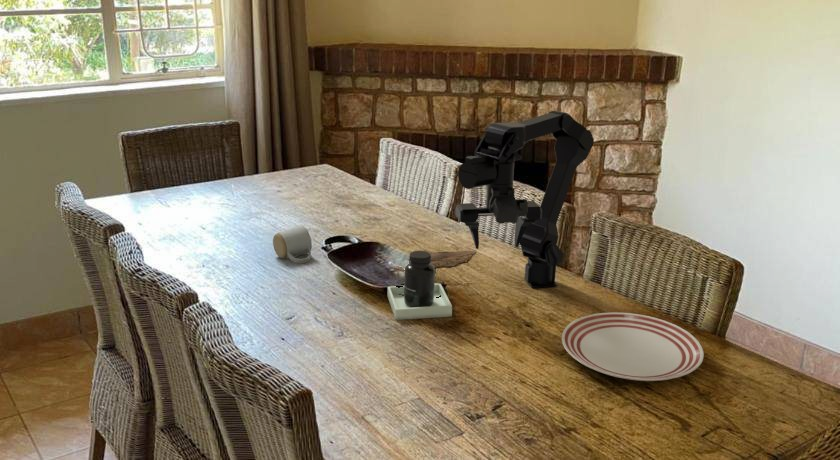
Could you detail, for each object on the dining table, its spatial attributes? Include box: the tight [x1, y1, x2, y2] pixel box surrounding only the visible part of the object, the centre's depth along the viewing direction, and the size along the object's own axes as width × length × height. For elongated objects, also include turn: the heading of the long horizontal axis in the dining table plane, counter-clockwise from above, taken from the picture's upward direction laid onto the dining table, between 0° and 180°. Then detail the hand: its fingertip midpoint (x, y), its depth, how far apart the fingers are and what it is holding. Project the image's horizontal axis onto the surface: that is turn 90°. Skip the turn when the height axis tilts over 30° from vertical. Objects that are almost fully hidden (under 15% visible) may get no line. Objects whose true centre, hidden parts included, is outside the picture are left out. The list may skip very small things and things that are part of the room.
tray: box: [387, 283, 453, 321], centre depth 175 cm, size 13×13×2 cm
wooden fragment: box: [393, 250, 477, 273], centre depth 202 cm, size 26×11×1 cm, turn 120°
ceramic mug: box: [272, 224, 313, 264], centre depth 201 cm, size 11×8×8 cm
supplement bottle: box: [403, 250, 436, 308], centre depth 173 cm, size 7×7×12 cm
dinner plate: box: [561, 312, 705, 382], centre depth 154 cm, size 28×27×3 cm
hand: (496, 247), depth 175 cm, fingers open, 9 cm apart
